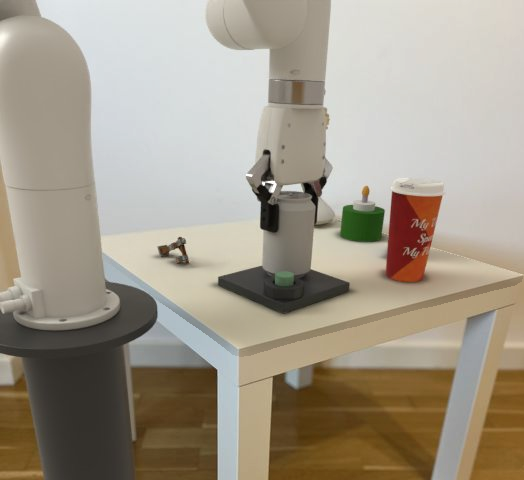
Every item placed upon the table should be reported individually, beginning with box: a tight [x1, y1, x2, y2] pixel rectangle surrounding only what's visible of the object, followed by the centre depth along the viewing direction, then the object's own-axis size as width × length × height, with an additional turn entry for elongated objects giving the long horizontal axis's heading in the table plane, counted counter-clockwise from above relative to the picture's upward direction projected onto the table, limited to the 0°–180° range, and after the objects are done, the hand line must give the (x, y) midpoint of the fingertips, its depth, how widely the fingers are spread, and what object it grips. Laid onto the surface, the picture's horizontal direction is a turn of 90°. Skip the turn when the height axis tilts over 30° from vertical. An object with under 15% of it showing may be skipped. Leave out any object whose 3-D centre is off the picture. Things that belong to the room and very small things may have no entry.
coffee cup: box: [385, 177, 446, 283], centre depth 86 cm, size 8×8×15 cm
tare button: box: [275, 271, 294, 286], centre depth 76 cm, size 3×3×2 cm
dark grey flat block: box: [217, 265, 351, 314], centre depth 82 cm, size 14×14×3 cm
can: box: [261, 190, 316, 278], centre depth 82 cm, size 8×8×12 cm
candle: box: [339, 185, 386, 243], centre depth 109 cm, size 8×8×10 cm
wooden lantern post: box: [156, 236, 190, 265], centre depth 92 cm, size 2×8×4 cm, turn 39°
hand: (288, 225), depth 81 cm, fingers closed on can, 7 cm apart
